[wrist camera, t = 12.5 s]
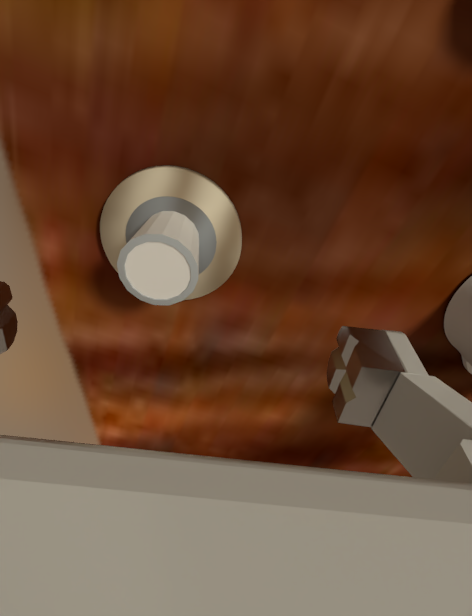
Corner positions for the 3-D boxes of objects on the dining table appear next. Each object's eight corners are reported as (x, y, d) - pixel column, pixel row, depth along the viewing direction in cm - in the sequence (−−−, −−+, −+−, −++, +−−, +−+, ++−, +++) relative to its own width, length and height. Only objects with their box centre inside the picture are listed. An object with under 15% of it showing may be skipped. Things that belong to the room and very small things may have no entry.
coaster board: (252, 177, 36) (252, 181, 35) (231, 301, 44) (231, 308, 43) (100, 154, 35) (95, 157, 34) (106, 285, 43) (103, 291, 42)
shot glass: (183, 280, 41) (173, 318, 35) (124, 246, 39) (103, 281, 33) (219, 229, 38) (214, 263, 32) (156, 189, 36) (139, 217, 30)
